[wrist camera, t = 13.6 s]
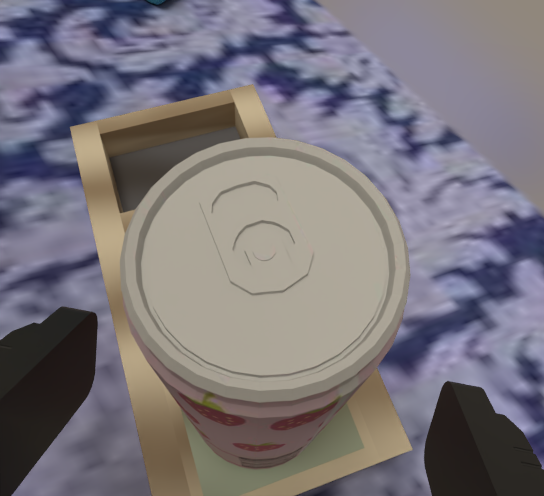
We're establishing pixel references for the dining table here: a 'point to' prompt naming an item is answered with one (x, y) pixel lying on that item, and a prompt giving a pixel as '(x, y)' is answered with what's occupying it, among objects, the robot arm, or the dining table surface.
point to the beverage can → (263, 291)
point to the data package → (156, 1)
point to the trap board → (139, 374)
